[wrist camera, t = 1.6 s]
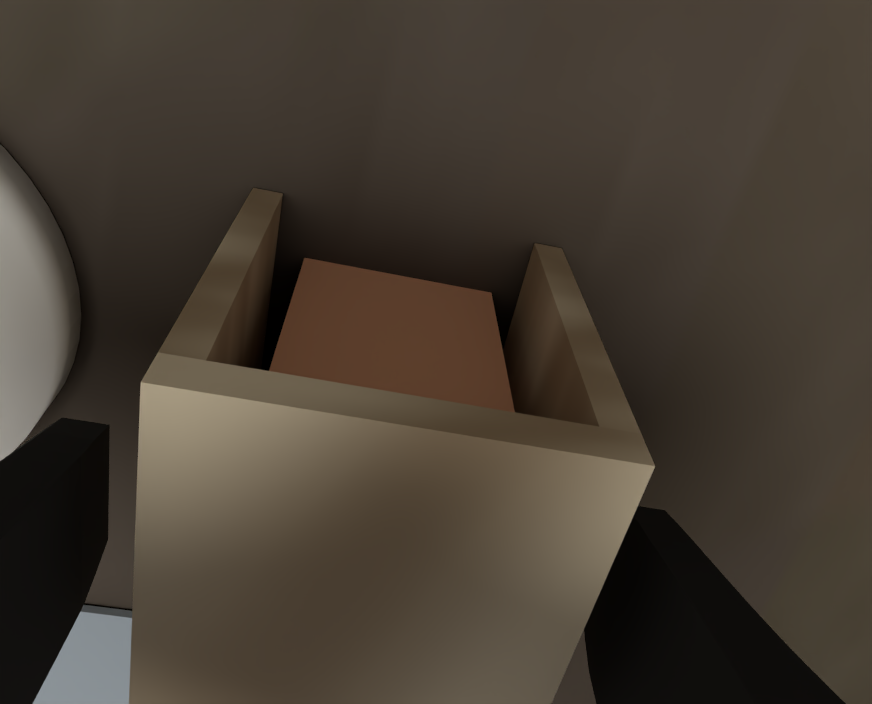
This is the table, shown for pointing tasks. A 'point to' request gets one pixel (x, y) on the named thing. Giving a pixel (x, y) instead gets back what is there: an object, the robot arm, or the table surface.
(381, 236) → the table surface
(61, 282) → the dish
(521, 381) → the beige open box
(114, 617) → the pad
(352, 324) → the block
